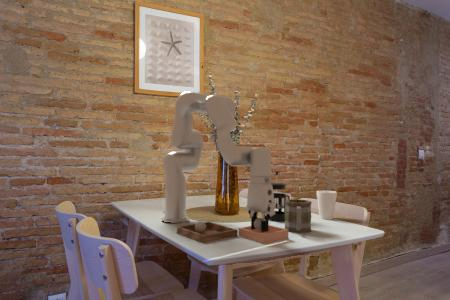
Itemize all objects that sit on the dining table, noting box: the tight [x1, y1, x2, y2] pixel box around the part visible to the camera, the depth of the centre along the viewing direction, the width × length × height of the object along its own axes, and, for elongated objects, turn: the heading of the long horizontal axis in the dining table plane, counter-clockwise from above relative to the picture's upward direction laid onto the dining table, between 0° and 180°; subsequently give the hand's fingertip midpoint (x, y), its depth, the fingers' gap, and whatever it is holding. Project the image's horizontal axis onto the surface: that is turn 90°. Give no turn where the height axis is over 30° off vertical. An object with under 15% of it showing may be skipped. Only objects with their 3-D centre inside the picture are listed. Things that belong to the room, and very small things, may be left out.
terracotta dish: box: [238, 224, 289, 245], centre depth 127 cm, size 13×13×4 cm
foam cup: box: [316, 190, 338, 221], centre depth 166 cm, size 10×9×13 cm
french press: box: [269, 170, 291, 223], centre depth 161 cm, size 12×9×23 cm
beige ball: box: [194, 221, 206, 233], centre depth 131 cm, size 4×4×4 cm
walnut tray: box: [176, 221, 239, 244], centre depth 129 cm, size 18×16×3 cm
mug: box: [284, 198, 312, 234], centre depth 138 cm, size 16×11×12 cm
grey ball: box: [254, 217, 263, 230], centre depth 125 cm, size 4×4×4 cm
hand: (259, 229), depth 125 cm, fingers closed on grey ball, 4 cm apart
